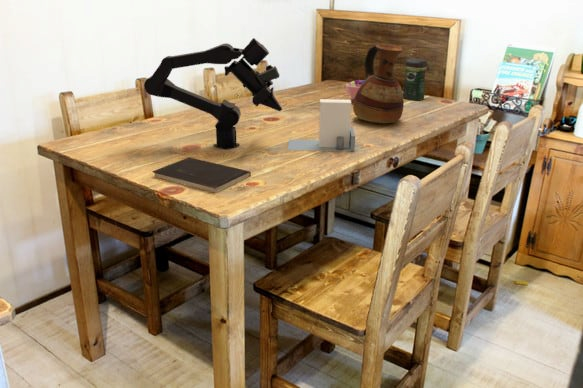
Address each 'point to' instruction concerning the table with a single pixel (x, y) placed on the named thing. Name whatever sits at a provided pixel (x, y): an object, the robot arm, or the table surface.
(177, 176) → the hardcover book
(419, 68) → the coffee jar
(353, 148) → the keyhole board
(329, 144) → the panel
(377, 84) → the ceramic pitcher
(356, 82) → the cell model
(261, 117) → the table surface
